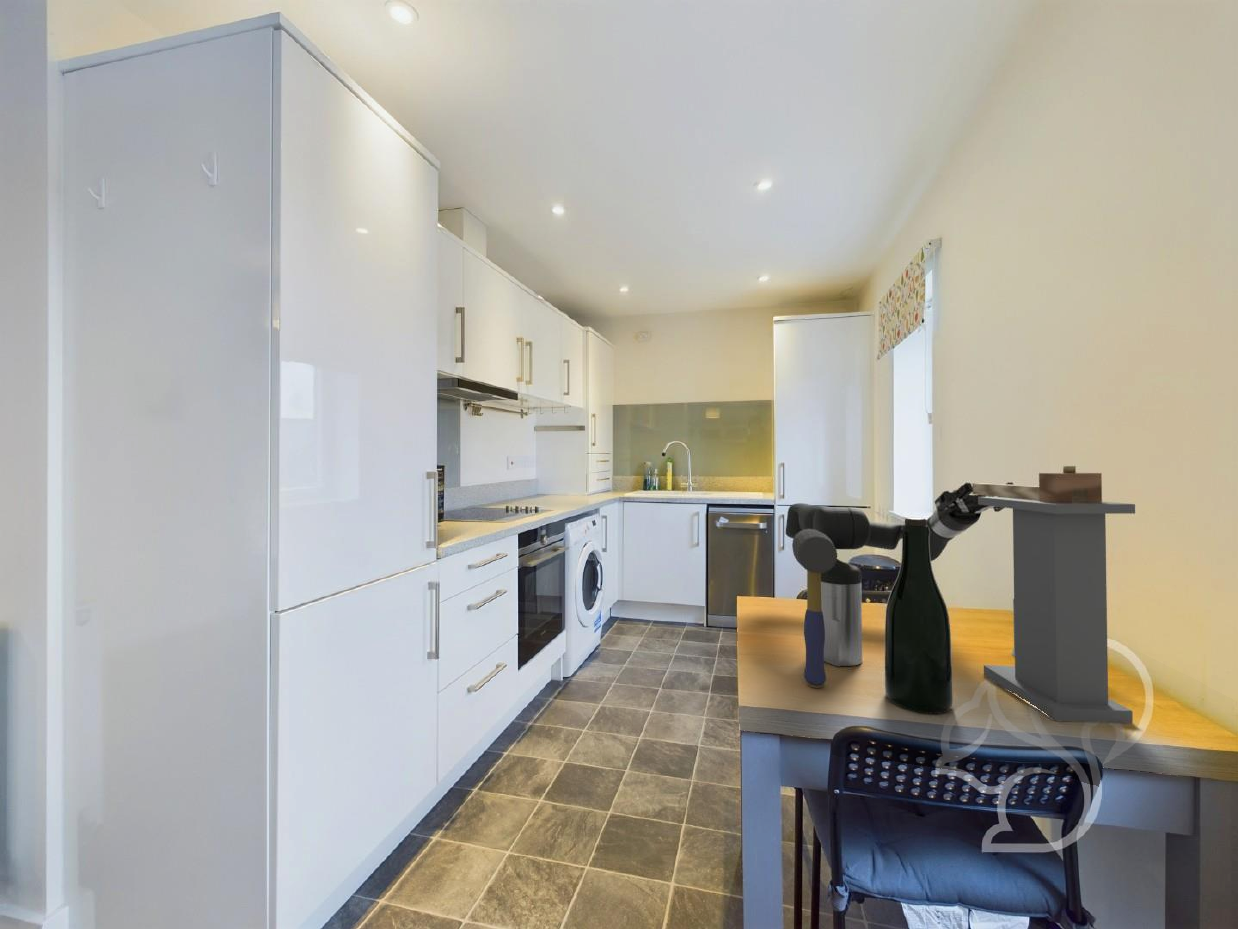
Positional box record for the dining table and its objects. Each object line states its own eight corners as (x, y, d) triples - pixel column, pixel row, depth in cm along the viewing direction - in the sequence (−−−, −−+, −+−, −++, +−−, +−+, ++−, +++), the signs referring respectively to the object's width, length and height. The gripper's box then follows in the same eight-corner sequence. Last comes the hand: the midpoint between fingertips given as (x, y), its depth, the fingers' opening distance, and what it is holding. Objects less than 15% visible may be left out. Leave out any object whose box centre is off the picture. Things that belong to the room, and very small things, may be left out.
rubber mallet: (842, 702, 89) (839, 535, 89) (797, 698, 91) (795, 534, 91) (830, 674, 101) (828, 527, 101) (791, 671, 103) (789, 526, 103)
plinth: (1138, 726, 80) (1135, 504, 80) (1058, 723, 81) (1055, 504, 81) (1043, 674, 100) (1041, 496, 100) (980, 673, 101) (978, 497, 101)
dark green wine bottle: (944, 693, 92) (942, 515, 93) (960, 720, 83) (957, 521, 83) (881, 685, 96) (878, 514, 96) (889, 710, 86) (886, 520, 86)
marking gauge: (1101, 502, 84) (1101, 465, 84) (1057, 503, 84) (1056, 466, 84) (994, 493, 110) (994, 466, 110) (961, 494, 111) (961, 466, 111)
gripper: (990, 531, 118) (1033, 501, 104) (926, 531, 119) (961, 502, 105) (979, 503, 122) (1020, 470, 108) (918, 503, 123) (950, 471, 109)
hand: (991, 486), depth 106 cm, fingers open, 8 cm apart
